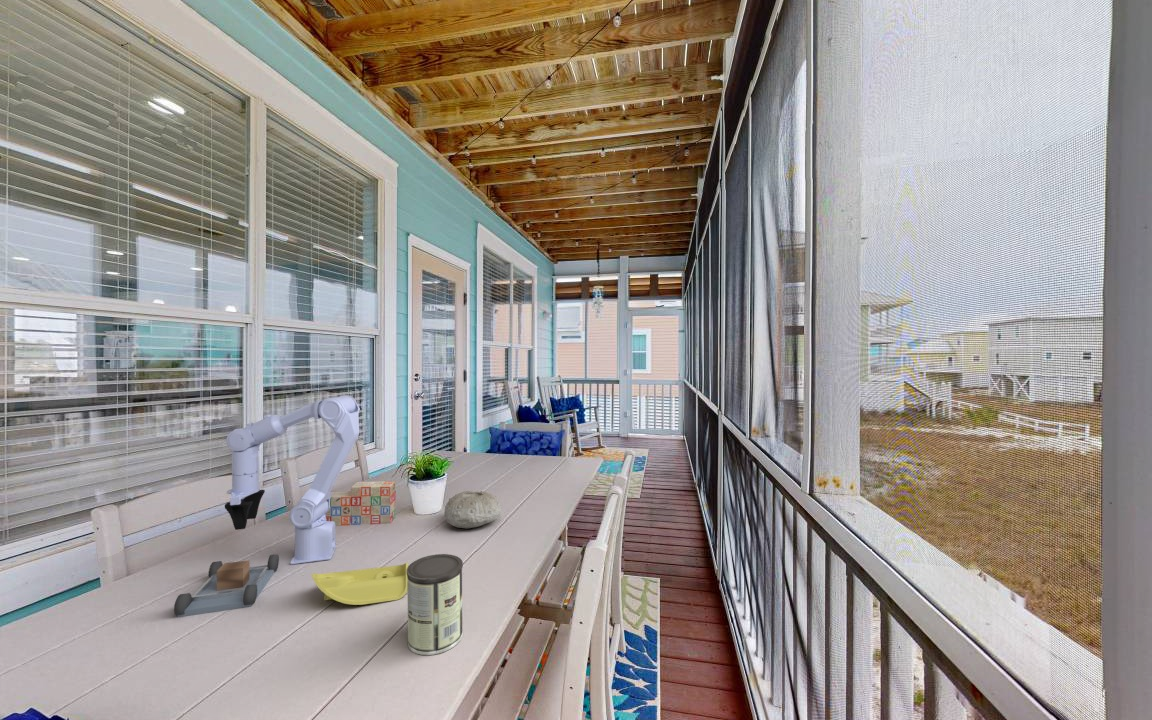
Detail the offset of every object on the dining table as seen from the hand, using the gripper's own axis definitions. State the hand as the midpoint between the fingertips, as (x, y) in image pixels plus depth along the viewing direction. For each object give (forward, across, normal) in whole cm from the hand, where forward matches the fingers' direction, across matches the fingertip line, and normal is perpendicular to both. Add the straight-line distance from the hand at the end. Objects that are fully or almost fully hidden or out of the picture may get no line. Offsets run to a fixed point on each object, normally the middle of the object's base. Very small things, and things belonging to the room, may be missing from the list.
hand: (245, 523), depth 120 cm
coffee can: (+10, +51, +47) cm, 70 cm away
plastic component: (+10, +29, +32) cm, 44 cm away
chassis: (+9, +18, +3) cm, 21 cm away
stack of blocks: (+10, -20, +25) cm, 33 cm away
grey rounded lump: (+10, -6, +60) cm, 61 cm away
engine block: (+8, +18, +3) cm, 20 cm away
